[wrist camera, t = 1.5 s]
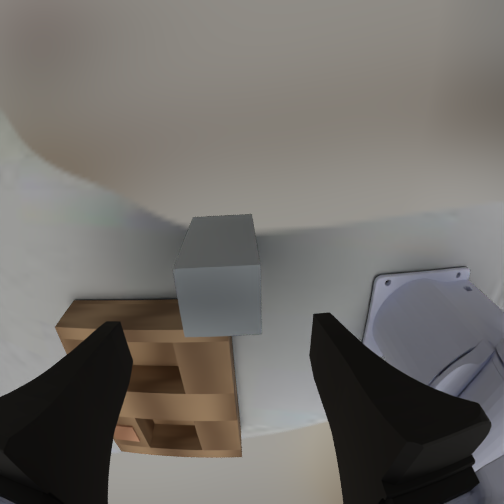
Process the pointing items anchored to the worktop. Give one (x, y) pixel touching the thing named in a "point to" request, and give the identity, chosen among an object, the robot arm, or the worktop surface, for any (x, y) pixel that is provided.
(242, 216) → the matte gray box
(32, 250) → the worktop surface
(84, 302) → the port block
